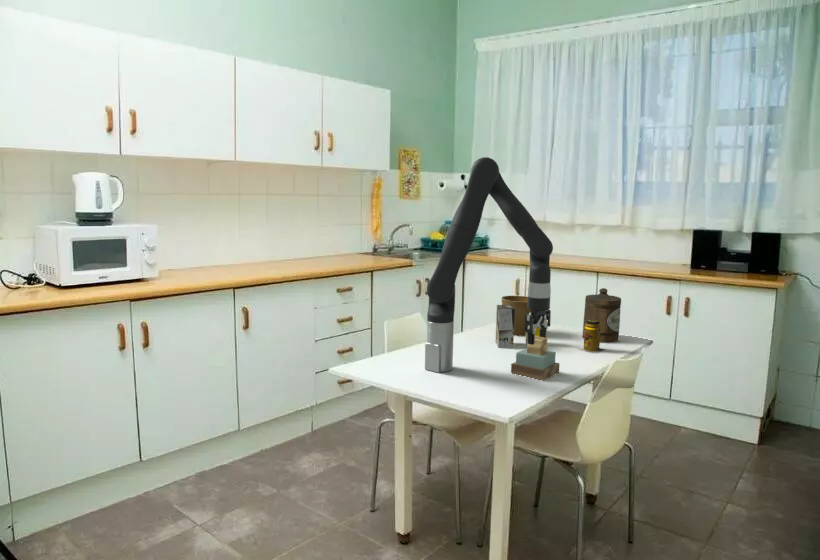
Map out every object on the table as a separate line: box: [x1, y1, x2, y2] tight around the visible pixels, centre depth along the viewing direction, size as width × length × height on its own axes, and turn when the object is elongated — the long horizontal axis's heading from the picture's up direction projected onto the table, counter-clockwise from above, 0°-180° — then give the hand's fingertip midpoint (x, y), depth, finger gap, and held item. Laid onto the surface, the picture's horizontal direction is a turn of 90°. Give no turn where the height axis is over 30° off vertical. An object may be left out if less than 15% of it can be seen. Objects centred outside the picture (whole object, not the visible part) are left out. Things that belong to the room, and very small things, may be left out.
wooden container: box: [582, 287, 622, 344], centre depth 255 cm, size 15×15×22 cm
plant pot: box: [501, 295, 531, 337], centre depth 262 cm, size 15×15×16 cm
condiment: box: [579, 320, 606, 354], centre depth 237 cm, size 7×8×12 cm
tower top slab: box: [515, 347, 557, 370], centre depth 205 cm, size 10×10×4 cm
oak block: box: [526, 336, 548, 355], centre depth 204 cm, size 5×5×5 cm
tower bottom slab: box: [510, 361, 560, 381], centre depth 206 cm, size 12×12×4 cm
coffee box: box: [495, 304, 515, 349], centre depth 242 cm, size 9×6×16 cm
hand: (536, 341), depth 204 cm, fingers open, 8 cm apart
